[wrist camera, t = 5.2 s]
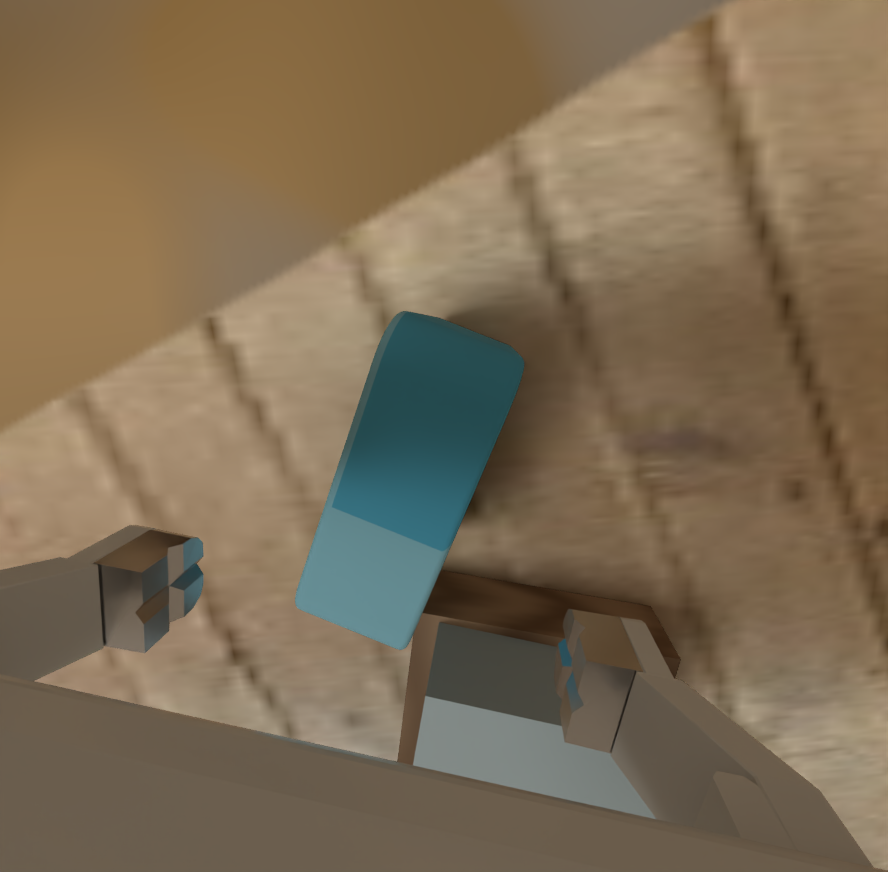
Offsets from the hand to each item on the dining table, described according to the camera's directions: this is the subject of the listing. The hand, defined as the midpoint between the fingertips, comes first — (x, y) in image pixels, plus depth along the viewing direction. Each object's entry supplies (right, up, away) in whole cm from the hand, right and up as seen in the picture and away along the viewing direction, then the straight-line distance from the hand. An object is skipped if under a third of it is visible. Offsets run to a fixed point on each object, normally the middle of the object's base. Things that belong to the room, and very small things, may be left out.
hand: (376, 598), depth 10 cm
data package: (+1, +4, +17) cm, 17 cm away
